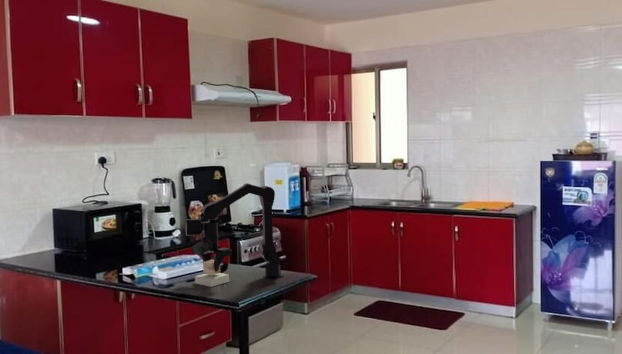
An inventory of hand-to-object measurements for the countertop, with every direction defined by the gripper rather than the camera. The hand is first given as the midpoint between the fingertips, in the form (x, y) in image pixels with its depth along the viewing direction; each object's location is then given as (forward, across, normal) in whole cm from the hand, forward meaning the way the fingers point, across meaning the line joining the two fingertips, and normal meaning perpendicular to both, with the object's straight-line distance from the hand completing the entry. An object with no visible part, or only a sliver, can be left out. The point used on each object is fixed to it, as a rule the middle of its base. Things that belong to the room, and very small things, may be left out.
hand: (211, 270), depth 243 cm
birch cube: (+1, 0, 0) cm, 1 cm away
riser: (+5, 0, 0) cm, 5 cm away
